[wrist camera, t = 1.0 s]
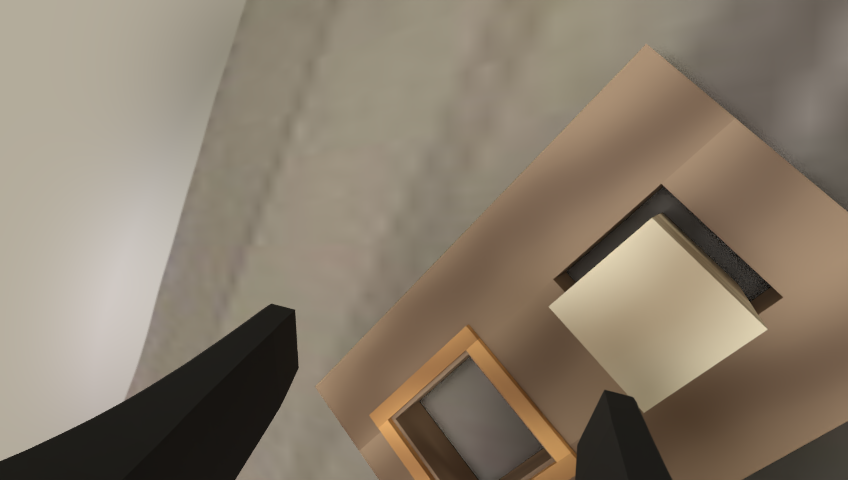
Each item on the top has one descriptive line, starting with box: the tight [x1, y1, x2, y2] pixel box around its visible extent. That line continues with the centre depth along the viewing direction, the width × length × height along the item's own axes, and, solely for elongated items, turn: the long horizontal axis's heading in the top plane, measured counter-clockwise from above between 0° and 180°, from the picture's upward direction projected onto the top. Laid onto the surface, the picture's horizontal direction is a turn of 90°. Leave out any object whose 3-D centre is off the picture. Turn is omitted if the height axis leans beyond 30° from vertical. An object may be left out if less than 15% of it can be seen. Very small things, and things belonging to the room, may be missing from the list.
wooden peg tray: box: [315, 44, 848, 480], centre depth 22 cm, size 14×23×3 cm, turn 135°
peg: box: [549, 213, 768, 413], centre depth 17 cm, size 4×4×8 cm
